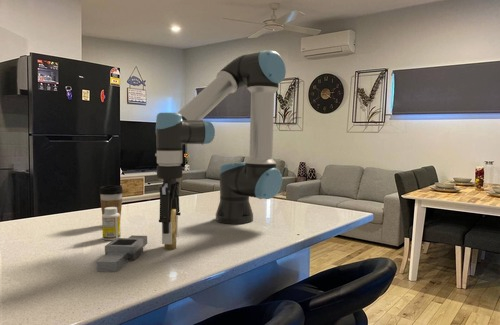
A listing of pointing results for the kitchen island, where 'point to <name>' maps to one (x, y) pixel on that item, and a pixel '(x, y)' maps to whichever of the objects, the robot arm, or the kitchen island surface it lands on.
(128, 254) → the grey plate with loop
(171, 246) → the pin
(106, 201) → the coffee cup
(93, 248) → the kitchen island surface
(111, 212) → the supplement bottle
